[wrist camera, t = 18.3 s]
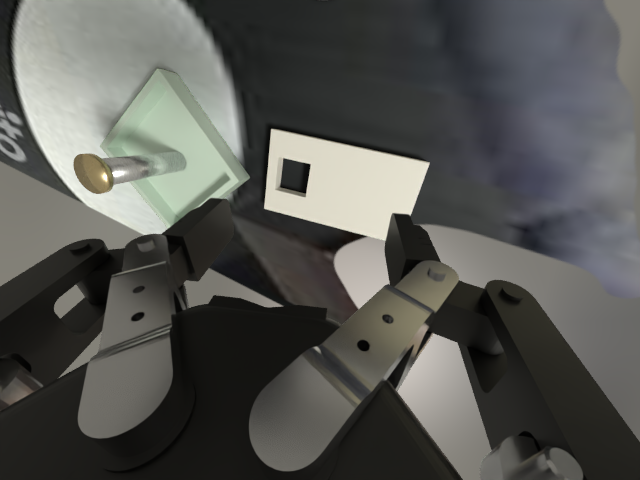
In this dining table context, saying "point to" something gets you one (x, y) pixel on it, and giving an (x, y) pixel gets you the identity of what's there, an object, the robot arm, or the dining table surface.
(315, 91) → the dining table surface
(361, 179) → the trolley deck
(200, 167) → the tray
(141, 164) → the pin
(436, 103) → the dining table surface
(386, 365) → the robot arm
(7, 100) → the dining table surface
